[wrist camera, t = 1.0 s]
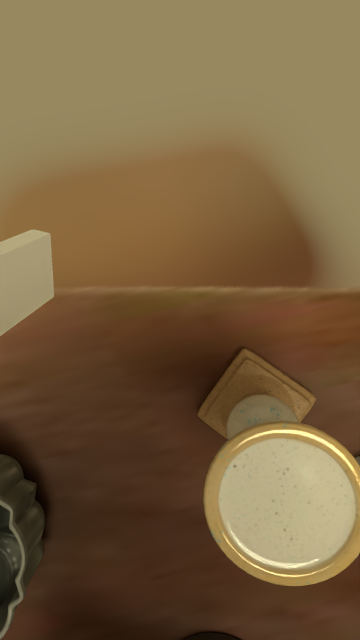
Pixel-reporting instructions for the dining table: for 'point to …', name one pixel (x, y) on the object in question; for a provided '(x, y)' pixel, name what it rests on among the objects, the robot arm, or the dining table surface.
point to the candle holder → (278, 479)
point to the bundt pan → (17, 537)
